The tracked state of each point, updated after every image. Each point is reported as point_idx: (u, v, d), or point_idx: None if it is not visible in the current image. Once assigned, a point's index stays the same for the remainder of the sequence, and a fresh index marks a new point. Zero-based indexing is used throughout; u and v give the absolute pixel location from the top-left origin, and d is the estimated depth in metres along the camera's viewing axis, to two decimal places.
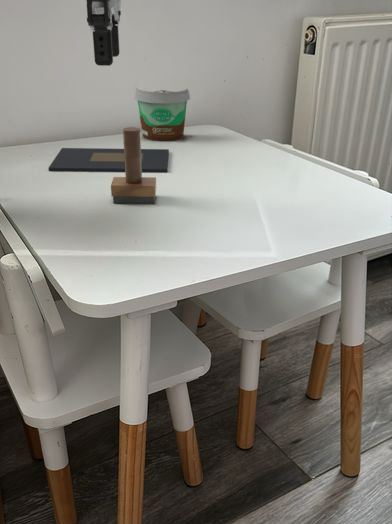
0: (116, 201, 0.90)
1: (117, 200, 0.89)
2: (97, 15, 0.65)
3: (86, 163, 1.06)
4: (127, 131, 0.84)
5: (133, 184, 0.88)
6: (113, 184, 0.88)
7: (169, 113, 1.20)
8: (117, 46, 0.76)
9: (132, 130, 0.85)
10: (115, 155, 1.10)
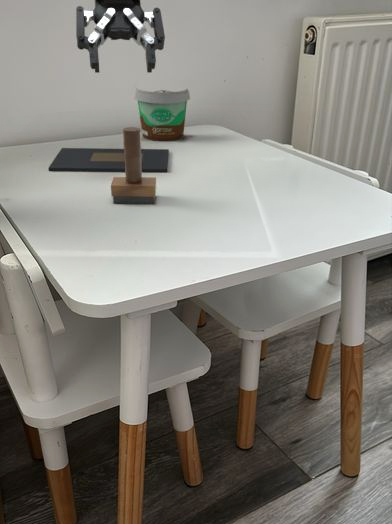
0: (116, 201, 0.90)
1: (117, 200, 0.89)
2: None
3: (86, 163, 1.06)
4: (127, 131, 0.84)
5: (133, 184, 0.88)
6: (113, 184, 0.88)
7: (169, 113, 1.20)
8: (147, 58, 0.90)
9: (132, 130, 0.85)
10: (115, 155, 1.10)
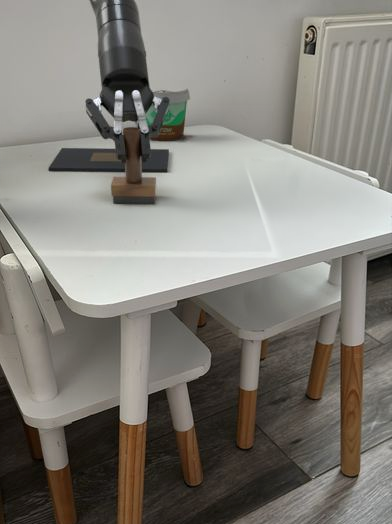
0: (116, 201, 0.89)
1: (117, 200, 0.89)
2: None
3: (86, 163, 1.06)
4: (127, 131, 0.84)
5: (133, 184, 0.88)
6: (113, 184, 0.88)
7: (169, 113, 1.20)
8: (141, 149, 0.85)
9: (132, 130, 0.85)
10: (115, 155, 1.10)
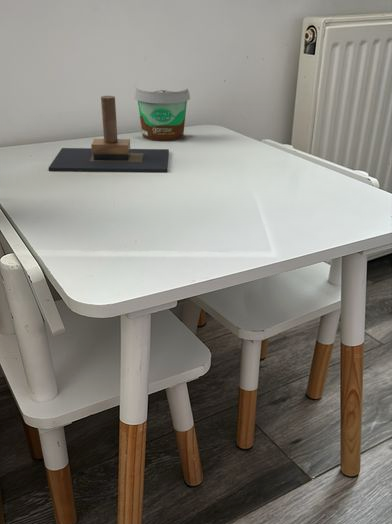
0: (96, 158, 1.07)
1: (97, 157, 1.07)
2: None
3: (86, 163, 1.06)
4: (104, 98, 1.02)
5: (110, 144, 1.06)
6: (93, 143, 1.06)
7: (169, 113, 1.20)
8: None
9: (108, 97, 1.02)
10: None
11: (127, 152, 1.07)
